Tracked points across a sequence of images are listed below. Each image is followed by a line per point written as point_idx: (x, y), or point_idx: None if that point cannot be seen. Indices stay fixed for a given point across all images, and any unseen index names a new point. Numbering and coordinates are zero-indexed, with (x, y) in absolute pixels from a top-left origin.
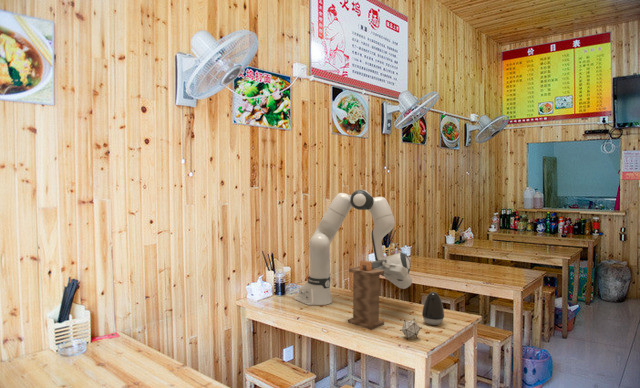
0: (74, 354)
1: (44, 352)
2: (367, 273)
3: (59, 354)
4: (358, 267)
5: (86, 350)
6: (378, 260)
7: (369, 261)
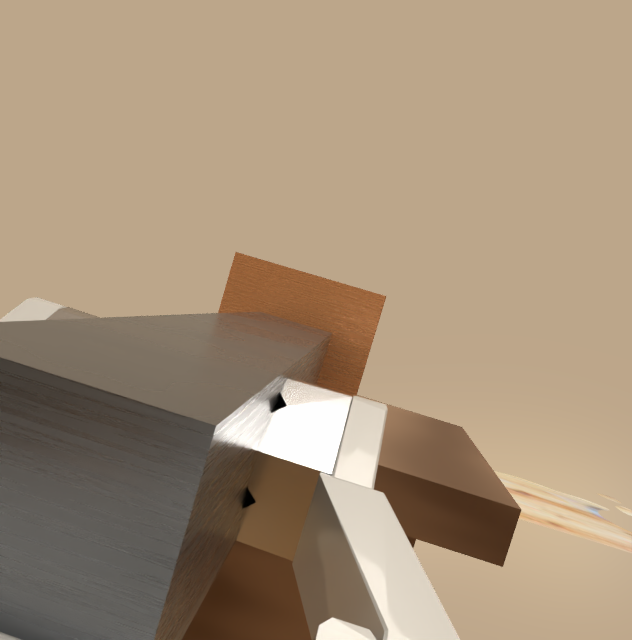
0: (593, 510)
1: (627, 512)
2: None
3: (605, 509)
4: (451, 456)
5: (606, 520)
6: (277, 364)
7: (270, 262)
